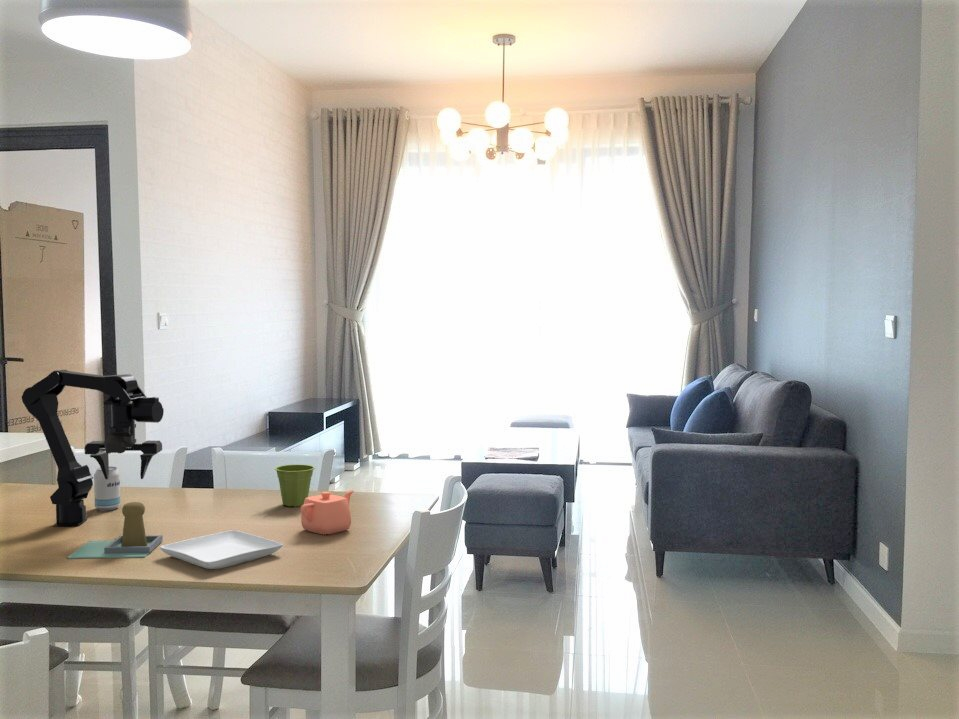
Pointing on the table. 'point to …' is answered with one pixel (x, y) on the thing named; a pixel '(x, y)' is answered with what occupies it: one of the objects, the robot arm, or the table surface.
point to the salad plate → (222, 549)
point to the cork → (133, 525)
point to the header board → (116, 549)
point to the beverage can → (107, 489)
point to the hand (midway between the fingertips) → (124, 479)
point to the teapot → (326, 513)
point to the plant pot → (294, 483)
